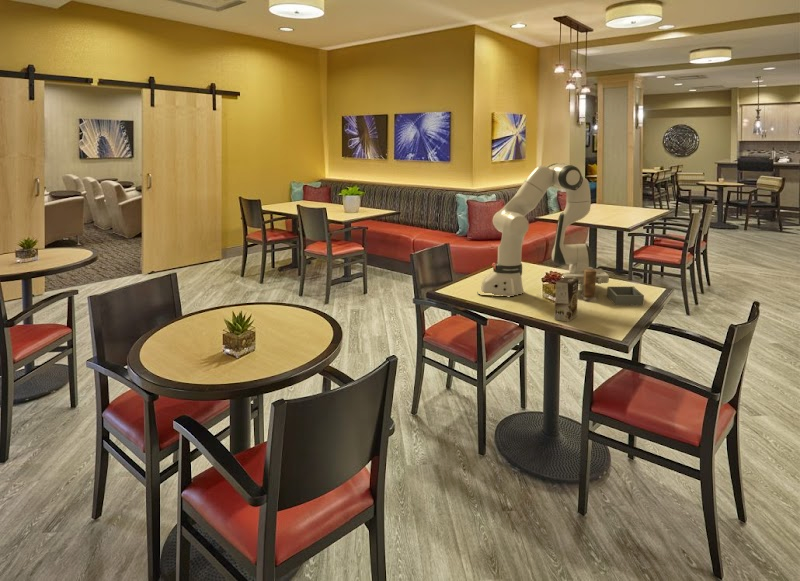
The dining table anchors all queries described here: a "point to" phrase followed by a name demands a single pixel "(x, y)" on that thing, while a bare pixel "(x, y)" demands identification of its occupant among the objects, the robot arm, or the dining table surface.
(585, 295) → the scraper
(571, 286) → the coffee box
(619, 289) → the tray
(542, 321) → the dining table surface
